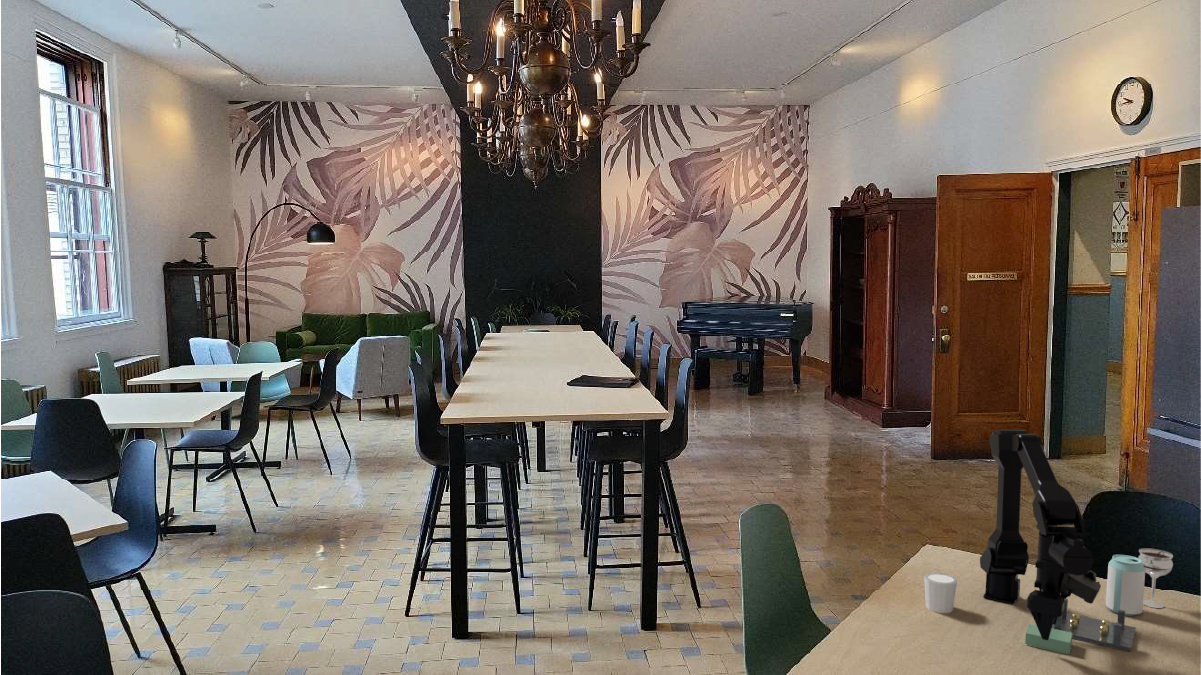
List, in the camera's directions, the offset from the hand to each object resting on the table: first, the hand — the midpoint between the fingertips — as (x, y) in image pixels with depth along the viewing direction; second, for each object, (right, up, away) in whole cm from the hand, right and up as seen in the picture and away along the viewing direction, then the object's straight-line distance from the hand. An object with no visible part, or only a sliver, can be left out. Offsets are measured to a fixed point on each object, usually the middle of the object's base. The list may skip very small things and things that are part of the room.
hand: (1049, 631), depth 179 cm
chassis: (+12, -2, +7) cm, 14 cm away
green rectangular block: (0, -3, 0) cm, 3 cm away
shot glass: (-15, -1, +18) cm, 24 cm away
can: (+26, -1, +18) cm, 31 cm away
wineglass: (+34, -1, +21) cm, 40 cm away
